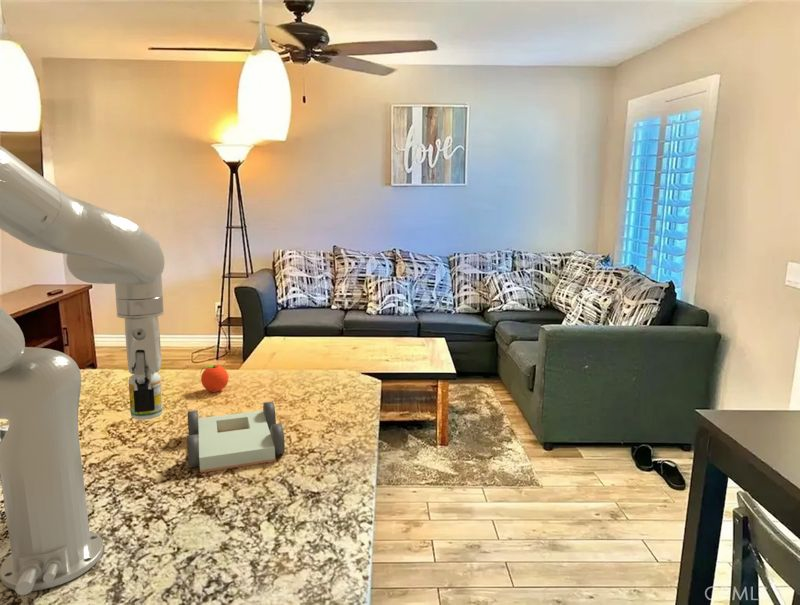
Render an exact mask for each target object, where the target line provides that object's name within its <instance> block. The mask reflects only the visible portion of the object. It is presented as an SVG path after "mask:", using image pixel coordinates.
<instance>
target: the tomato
mask: <svg viewBox="0 0 800 605" xmlns="http://www.w3.org/2000/svg"><path fill="white" fill-rule="evenodd" d="M203 369H204V371H203V372H202V370H203ZM199 372H200V373H199V374H201V375H200V378H201V380H200V381H201V385H202V387H203V388H204V389H206V390H207V391H209V392H213V393H217V392H221V391H222V390H223V389H224V388H225V387H226V386H227V385H228V383H229V379H230V378H229V373H228V371H227V370H226V369H225V367H223V366H220V365H216V364H215V365H207V366H205V367H202V368H201V370H200V371H199ZM201 372H202V373H201Z"/></svg>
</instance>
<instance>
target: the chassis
mask: <svg viewBox="0 0 800 605" xmlns="http://www.w3.org/2000/svg"><path fill="white" fill-rule="evenodd" d="M262 404H263V405H262V406H263V407H262V408H263V409H262V410H256V411H255V410H254V411H248V412H247V411H246V412H240V413H239V412H237V413H233V414H232V413H231V414H224V415H223V414H222V415H215V416H207V417H199V410H197V409H196V410H187V430H188V435H186V443H187V444H186V448H187V452H186V453H187V462H188V463H187V464H188V468H195V467H199V472H200V473H207V472H213V471H219V470H221V471H222V470H227V469H235V468H239V466H241V467H247V466H253V464H254V465H258V464H259V463H261V464H266V463H265V462H267V463H272V462H271V461H274V462H276V455H283V454H285V452H286V451H285V449H286V446H285V443H286V442H285V433H284V428H283V424H282V423H277V422H276V421H277V418H276V409H275V403H274V401H266V402H263V403H262ZM246 465H247V466H246Z"/></svg>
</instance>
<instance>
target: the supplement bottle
mask: <svg viewBox="0 0 800 605" xmlns="http://www.w3.org/2000/svg"><path fill="white" fill-rule="evenodd" d="M147 371H149V370H148V368H146V369H145V372H147ZM151 373H152V374H151V377H152V388H154V403H155V409H154V410H153V411H145V412H135V407H134V392H133V390H134V374H131V376H130V377H129V379H128V392H129V393H128V394H129V406H130V407H129V408H130V409H129V410H130V417H131V418H132V419H134V420H138V421H139V420H140V421H145V420H152V419H155V418H158V417H160V416H162V414H163V412H164V410H163V407H164V406H163V393H162V376H161V375H160V373H158V372H157V373H155V371H151ZM145 377H147V379H148V375H145Z"/></svg>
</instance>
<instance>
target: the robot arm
mask: <svg viewBox="0 0 800 605" xmlns="http://www.w3.org/2000/svg"><path fill="white" fill-rule="evenodd" d="M0 230H1V231H3V232H4V233H7V234H8V235H10V236H12V237H14V238H15V239H17V240H19V241H20V242H22V243H23V244H26V245H28V246H29V247H32V248H35V249H38V250H39V249H40V250H44V251H48V252H52V253H57V254H63V255H66V258H65V259H66V260H65V261H66V262H65V263H66V266H67V269H68V271H69V272H70V274H71V275H72V276H73V277H74V278H76V279H77V280H79V281H82V282H85V283H88V284H99V285H101V284H103V285H105V284H106V285H113V284H114V288H115V289H114V290H115V303H116V304H115V305H116V317H117V318H119V319H124V332H125V335H124V336H125V348H126V349H125V350H126V360H127V367H128V373H130V374H131V375H134V390H133V392H134V407H135V412H145V411H153V410H154V409H155V403H154V388H152V377H151V374H152V373H151V371H155V373H157V374H158V372H159V371H160V370H161V366H162V348H161V336H160V334H161V333H160V323H159V317H160V316H163V315H164V313H165V312H164V301H163V300H164V298H163V296H164V295H163V294H164V293H163V280H162V273H163V272H164V269H165V256H164V252H163V250H162V248H161V246H160V243H159V240H158V239H156V238H155V237H153V236H151V234H149V232H147V231H146V230H145V229H144V228H142V227H141V226H139V224H137V223H136V222H134V221H131V220H130V219H128V218H127V217H124V216H122V215H119V214H117V213H115V212H112V211H109V210H107V209H104V208H101V207H99V206H97V205H94V204H91V203H89V202H87V201H83V200H81V199H78V198H77V197H76V198H75V197H72V196H70V195H68V194H66V193H65V192H63V191H62V190H61V189H60V188H58V187H57V186H55V185H54V184H53V183H52V182H50V181H49V180H47V179H46V178H45V177H44V176H42V175H41V174H39V173H38V172H37V171H35V170H34V169H33V168H31V166H29V165H28V164H26V163H25V162H24V161H23V160H21V159H20V158H18V157H17V156H16V155H15V154H13V153H12V152H10V151H9V150H8V149H6V148H4V146H2V145H0ZM25 341H26V340H25V337H24V333H23V331H22V329H21V327H20V325H19V324H18V323H17V322H16V320H15V319H14V318H13V317H12V316H11V315H10V314H9V313H8V312H7V311H6V310H5V309H4V308H3V307H1V306H0V419H3V420H7V421H8V428H7V430H6V433H5V435H4V436H3V438H2V439H1V442H0V482H1V489H2V497H3V504H4V510H5V517H6V524H7V531H8V539H9V544H10V545H9V546H10V552H11V553H10V554H9V555H8V556H7V557H6V559H4V561H3V562H2V564H1V566H0V581H1V583H2V584H3V585H4V586H5V587H6V588H8V589H10V590H13V591H15V593H16V594H17V595H20V596H25V595H28V594H30V593H31V592H35V591H42V590H46V589H51V588H54V587H57V586H61V585H63V584H66V583H68V582H70V581H72V580H75V579H76V578H78V577H80V576H81V575H83V574H85V573H86V572H88V571H89V570H90V569H91V568H92V567H94V566H95V565H96V564H97V563H98V562H99V560H100V559H101V557H102V555H103V553H104V541H103V539H102V537H101V535H99V534H98V533H96V532H94V531H91V530H90V524H89V515H88V506H87V498H86V497H87V496H86V487H85V481H84V480H85V479H84V478H85V477H84V470H83V468H84V467H83V461H82V453H81V443H80V433H79V431H80V430H79V409H80V408H79V406H80V396H81V389H82V374H81V369H80V368H79V366H78V364H77V362H76V361H75V360H74V359H73V358H72V357H71V356H70V355H68V354H66V353H65V352H62V351H59V350H55V349H52V348H44V347H34V346H29V347H28V346H26V342H25ZM146 368H148V370H149V371H147V372H145V369H146ZM145 375H148V379H147V377H145Z"/></svg>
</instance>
